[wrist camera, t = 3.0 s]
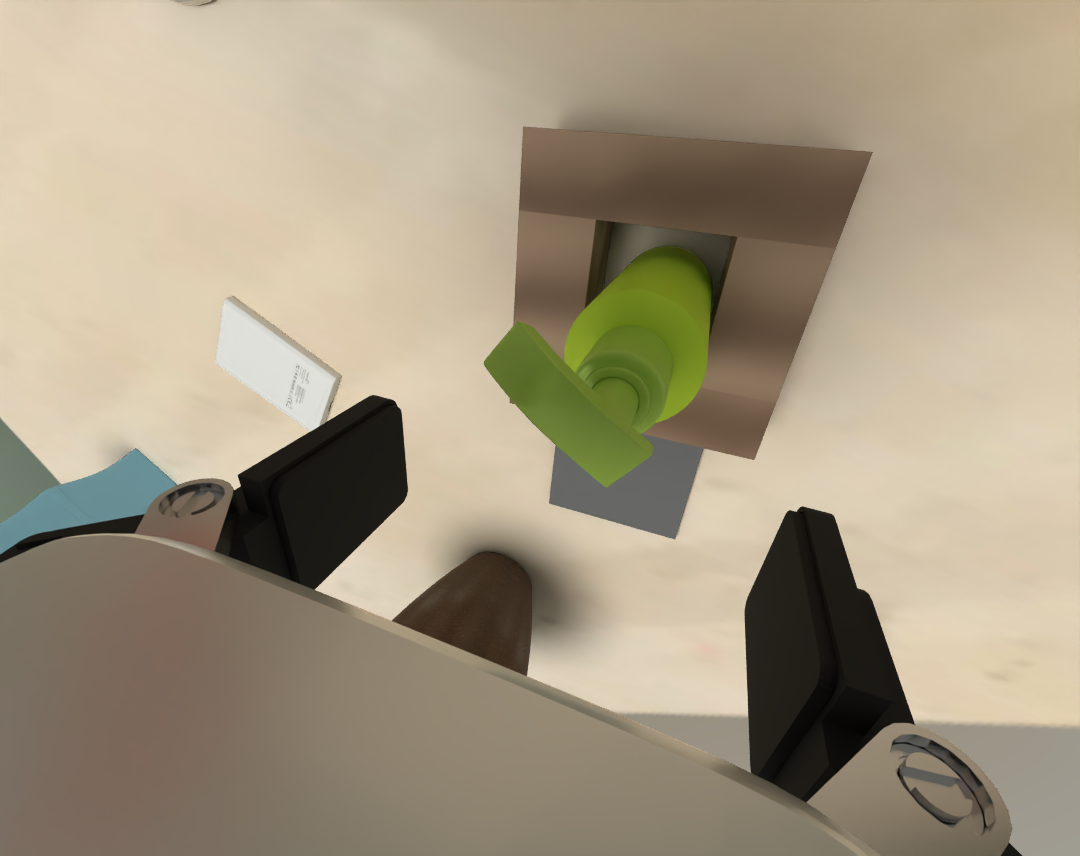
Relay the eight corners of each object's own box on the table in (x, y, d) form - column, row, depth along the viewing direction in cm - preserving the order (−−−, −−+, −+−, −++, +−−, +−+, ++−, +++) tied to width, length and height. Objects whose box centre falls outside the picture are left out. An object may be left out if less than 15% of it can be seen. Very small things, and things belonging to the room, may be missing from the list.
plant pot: (596, 616, 46) (546, 793, 33) (492, 639, 54) (418, 790, 41) (510, 504, 43) (416, 651, 30) (413, 546, 51) (305, 677, 37)
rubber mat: (564, 388, 35) (561, 391, 35) (710, 421, 33) (710, 424, 32) (551, 499, 41) (549, 503, 40) (675, 534, 38) (674, 539, 38)
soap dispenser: (654, 212, 28) (558, 267, 11) (732, 293, 28) (750, 459, 12) (590, 284, 31) (440, 409, 14) (661, 355, 32) (596, 553, 15)
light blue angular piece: (170, 514, 66) (-14, 628, 49) (127, 476, 65) (-76, 579, 48) (182, 489, 61) (-16, 605, 45) (135, 448, 60) (-85, 550, 44)
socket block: (552, 133, 27) (523, 126, 23) (845, 155, 24) (872, 151, 19) (533, 376, 36) (509, 402, 31) (749, 422, 32) (754, 460, 28)
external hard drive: (238, 294, 43) (346, 373, 43) (228, 359, 47) (325, 430, 47) (223, 298, 41) (334, 379, 41) (214, 365, 46) (314, 438, 46)
